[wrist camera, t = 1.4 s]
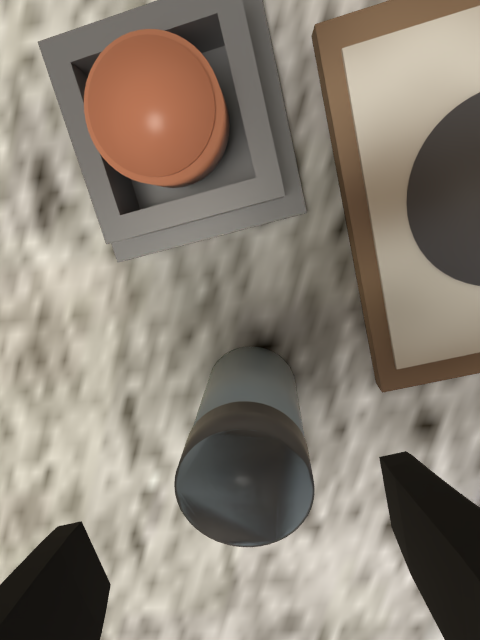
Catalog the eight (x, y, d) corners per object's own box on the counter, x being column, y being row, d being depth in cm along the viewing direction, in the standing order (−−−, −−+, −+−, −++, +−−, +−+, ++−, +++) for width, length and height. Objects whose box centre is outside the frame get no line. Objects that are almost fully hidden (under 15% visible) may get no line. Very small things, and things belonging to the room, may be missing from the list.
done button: (242, 170, 14) (237, 162, 11) (134, 201, 14) (108, 199, 12) (211, 42, 13) (199, 4, 10) (96, 79, 13) (59, 52, 11)
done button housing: (305, 212, 16) (314, 213, 13) (121, 261, 17) (92, 271, 14) (258, -13, 14) (256, -69, 11) (53, 56, 15) (4, 21, 12)
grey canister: (305, 417, 19) (327, 535, 12) (220, 434, 19) (196, 556, 12) (285, 336, 18) (297, 414, 11) (197, 356, 18) (157, 442, 12)
